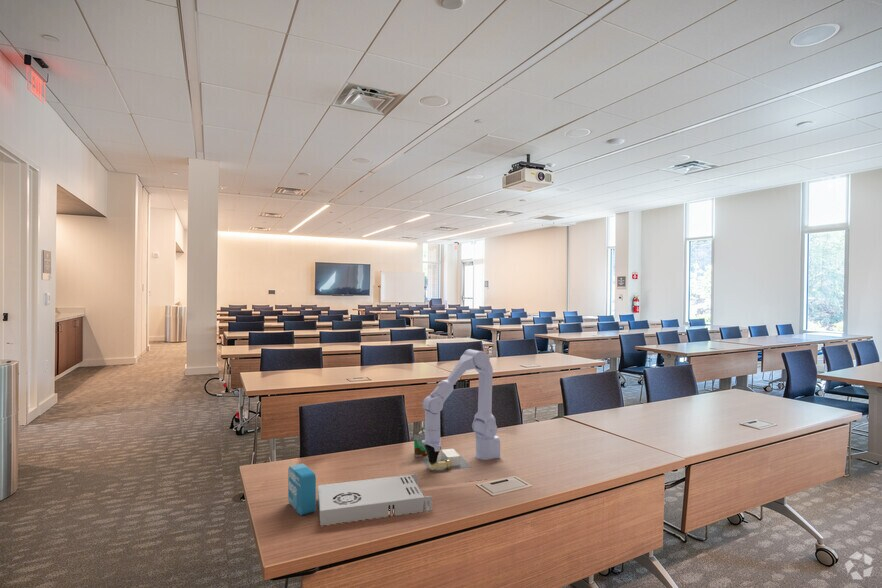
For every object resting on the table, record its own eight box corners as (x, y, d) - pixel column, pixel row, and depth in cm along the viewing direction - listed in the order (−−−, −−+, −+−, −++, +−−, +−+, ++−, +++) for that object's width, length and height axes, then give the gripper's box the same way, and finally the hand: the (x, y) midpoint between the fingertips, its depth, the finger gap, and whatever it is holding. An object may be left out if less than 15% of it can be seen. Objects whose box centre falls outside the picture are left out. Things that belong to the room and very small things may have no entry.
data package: (288, 503, 146) (287, 465, 147) (302, 499, 149) (301, 462, 149) (301, 517, 137) (301, 476, 137) (316, 513, 140) (316, 473, 140)
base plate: (459, 457, 187) (459, 454, 187) (471, 469, 174) (471, 467, 174) (421, 461, 183) (421, 458, 183) (430, 474, 169) (430, 471, 169)
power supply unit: (432, 512, 141) (432, 496, 141) (320, 528, 131) (320, 510, 131) (417, 488, 159) (417, 473, 159) (318, 500, 149) (318, 485, 149)
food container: (428, 461, 183) (428, 435, 183) (413, 460, 185) (413, 435, 185) (435, 450, 195) (435, 427, 195) (421, 450, 197) (421, 426, 197)
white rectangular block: (453, 457, 184) (453, 448, 185) (460, 465, 176) (460, 456, 176) (441, 458, 183) (441, 449, 183) (447, 466, 174) (447, 457, 174)
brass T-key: (449, 466, 174) (449, 458, 174) (451, 469, 171) (451, 461, 171) (429, 468, 172) (429, 460, 172) (431, 471, 169) (431, 463, 169)
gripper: (417, 424, 180) (417, 459, 180) (427, 434, 166) (427, 472, 166) (435, 422, 182) (435, 457, 182) (445, 433, 168) (446, 470, 168)
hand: (432, 464), depth 174 cm, fingers closed
